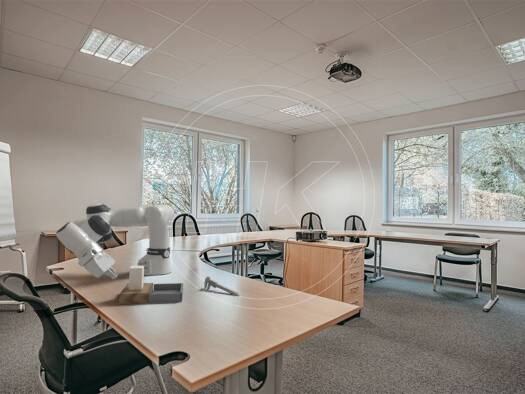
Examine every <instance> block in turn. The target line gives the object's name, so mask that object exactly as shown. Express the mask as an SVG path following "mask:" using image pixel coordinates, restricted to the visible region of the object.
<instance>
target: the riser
mask: <svg viewBox="0 0 525 394" xmlns="http://www.w3.org/2000/svg"><path fill="white" fill-rule="evenodd" d="M153 290H154V282H143V288H142V290H129V283H126V285H125V286H124V288H123V289H122V290H121V292H120V293H119V294H118V295H119V299H118V304H119V305H128V304H149V294H152V293H153Z"/></svg>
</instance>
